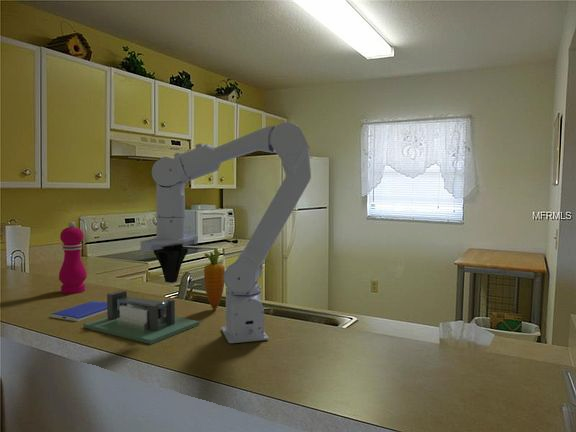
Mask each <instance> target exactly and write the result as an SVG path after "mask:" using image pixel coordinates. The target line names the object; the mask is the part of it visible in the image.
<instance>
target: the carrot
mask: <svg viewBox="0 0 576 432" xmlns="http://www.w3.org/2000/svg"><path fill="white" fill-rule="evenodd" d="M204 256H205V257H207V258H208V260H209V262H210V263H208V264H206V265H204V270H203V272H204V273H203V275H204V288H205V293H206V297H207V300H208V301H209V304H210V307H211V308H212V309H213V310H216V309H217V308H218V306H219V305H220V302H221V300H222V297H223V294H224V286H225V283H224V272H225V270H226V269H225V266H224V264H221V263H218V261H219V257H220V256H221V252H220V251H219V249H218V248H213V252H212V251H211V252H209V254H208V253H206V252H205V253H204Z"/></svg>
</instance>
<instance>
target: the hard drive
mask: <svg viewBox="0 0 576 432" xmlns="http://www.w3.org/2000/svg"><path fill="white" fill-rule="evenodd" d="M104 313H107V301H106V302H105V301H98V300H91V301H89V302H85V303H83V304H82V303H81V304H78V305H75V306H72V307H69V308H66V309H63V310H58V311H56V312H53V313H51V314H50V317H51V318H53V319H60V320H67V321H72V322H80V321H83V320H85V319H89V318H92V317H94V316H98V315H100V314H104Z"/></svg>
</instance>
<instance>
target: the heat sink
mask: <svg viewBox="0 0 576 432" xmlns="http://www.w3.org/2000/svg"><path fill="white" fill-rule="evenodd" d="M164 324H167V318H166V307H165V308H162V309H159V310H158V326H161V325H164ZM117 325H118V326H123V327H127V328H131V329H136V330H140V331H144V332H145V331H147V330H150V324H149V307H145V306H139V305H133V304H127V306H123V305H121V306H120V317H118V318H117Z"/></svg>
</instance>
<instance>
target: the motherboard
mask: <svg viewBox="0 0 576 432" xmlns="http://www.w3.org/2000/svg"><path fill="white" fill-rule="evenodd" d="M199 325H200V321H199V320H194V319H190V318H185V317H180V316H175V324H173V325H168V324H164V325H161V326H158V330H157V331H150V330H147V331H145V332H144V331H140V330H136V329H131V328H127V327H123V326H118V325H117V319H114V320H110V319H107V316H105V317H102V318H99V319H94V320H92V321H88V322H85V323H83V325H82V327H83V328H85V329H87V330H92V331H96V332H100V333H104V334H109V335H111V336H112V335H113V336H116V337H120V338H125V339H128V340H133V341H136V342H139V343H143V344H144V343H145V344H148V345H153V344H155V343H158V342H161V341H162V340H165V339H168V338H170V337H172V336H175V335H178V334H180V333H183V332H186V331H188V330H191V329H192V327H193V328H195V327H197V326H199ZM187 329H188V330H187ZM182 331H183V332H182Z"/></svg>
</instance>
